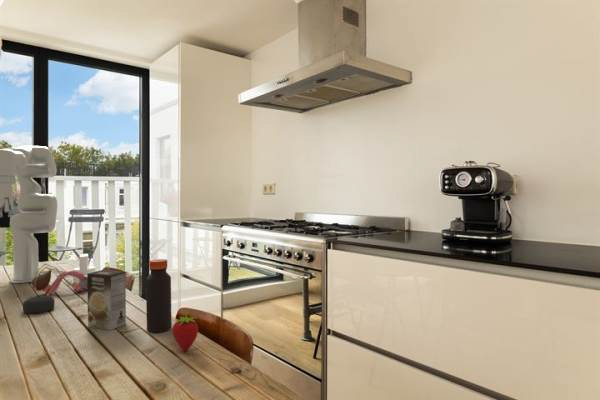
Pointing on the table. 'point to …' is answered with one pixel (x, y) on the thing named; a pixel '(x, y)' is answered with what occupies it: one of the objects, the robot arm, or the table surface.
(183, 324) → the strawberry
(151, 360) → the table surface
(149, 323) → the bottle
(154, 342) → the table surface
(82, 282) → the charging dock
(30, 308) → the smart speaker
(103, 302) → the coffee box
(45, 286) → the anatomy model
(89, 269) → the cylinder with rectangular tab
